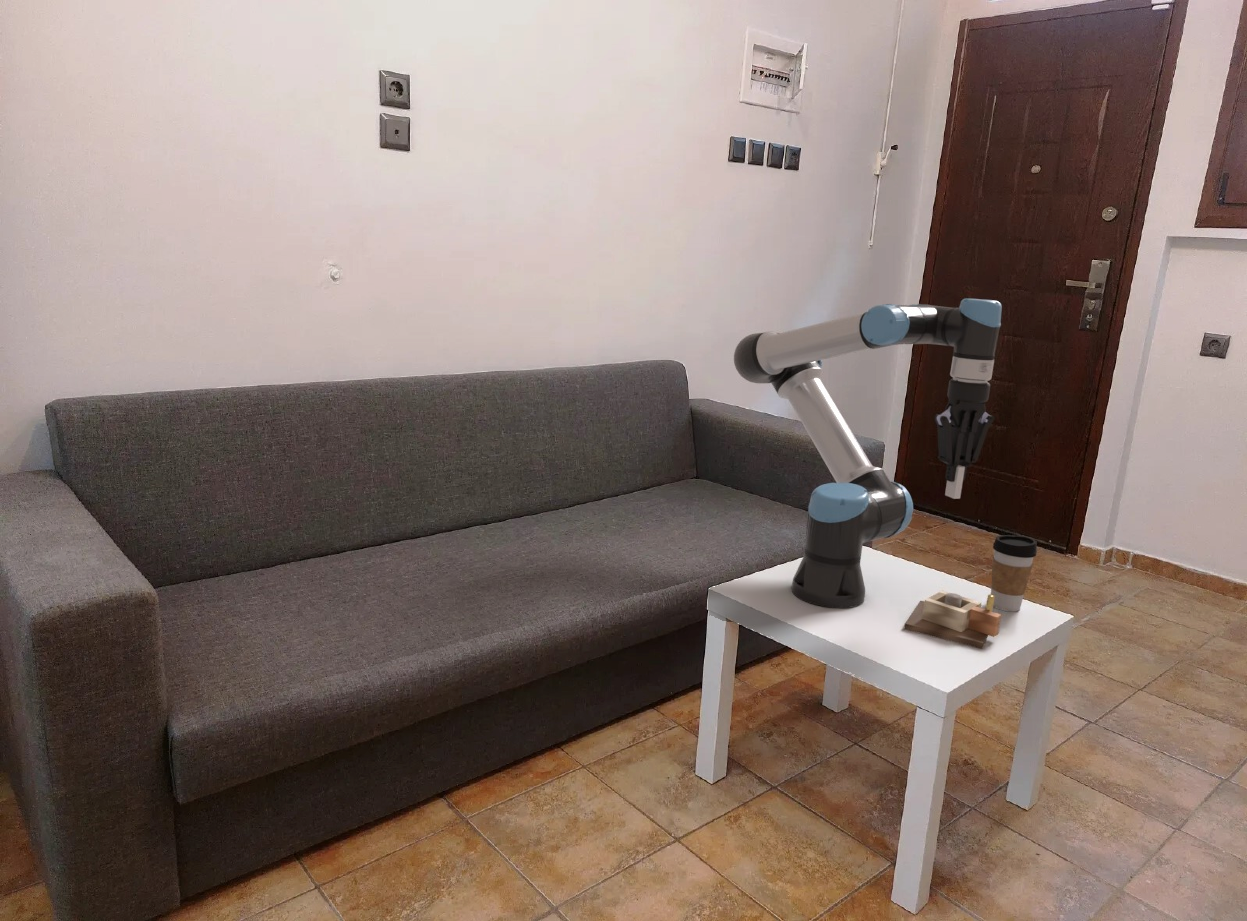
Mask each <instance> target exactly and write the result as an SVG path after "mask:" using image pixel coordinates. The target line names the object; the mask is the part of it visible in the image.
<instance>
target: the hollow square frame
mask: <svg viewBox="0 0 1247 921" xmlns="http://www.w3.org/2000/svg"><path fill="white" fill-rule="evenodd" d="M947 593H950V592H948V591H945V590H940V591H939V592H937V593H935V594H933V595H930V596H929V597H927V598H926V599H924V600H923V601H924V608H923V615H922V619H924V620H927V621H930V622H933V623H936V624H939V625H941V626H944V627H947V628H950V629H953V630H956V631H959V632H963V631H964V630H966V629H968V628H969V629H972V630H975V631H978V632H981V633H984V634H987V635H988V637H989V636H990V637H992V638H994V637H996V636H997V635H999V632H1000V631H999V630H1000V626H1001V618H1002V614H1001V613H997V612H993V611H992V612H991V611H988V610H986V608H982V602H980V601H977V600H974V599H972V598H968V597H965V596H962V601H961V608H957V607H954V606H951V605H948V604H945V597H946V594H947Z"/></svg>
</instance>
